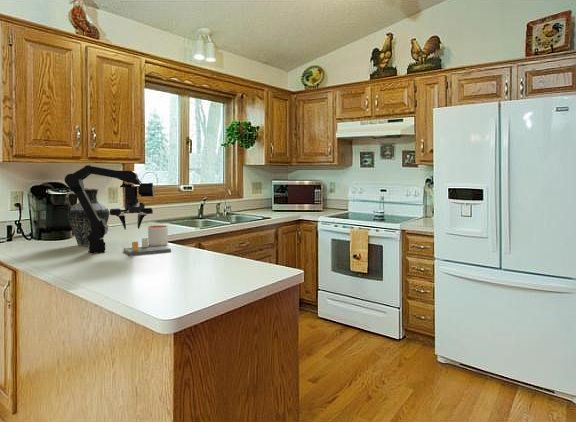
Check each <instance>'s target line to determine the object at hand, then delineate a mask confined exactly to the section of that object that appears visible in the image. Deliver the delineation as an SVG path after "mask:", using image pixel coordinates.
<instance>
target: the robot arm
mask: <svg viewBox="0 0 576 422" xmlns="http://www.w3.org/2000/svg"><path fill="white" fill-rule="evenodd" d="M90 175H96V176H102V177H107V178H108V177H109V178H114V179H118V180H120V181H123V183H121V185H120V186H119V188H124V209H121V208H117V207H116V208H110V209H109V216H116V217H118V218H119V220H120V221H121V224H122V226H123V227H122V228H123V229H124V230H127V226H126V215H124V214H137V229H138V230H140V227H141V225H142V222H143V219H144V218H145V216H147V215H151V214H153V212H154V211H153V207H145V206H146V205H145V202H139V198H138V197H139V196H140V197H141V198H154V196H155V195H154V194H155V189H154V183H153V182H148V183H147V182H145V183H143V182H142V181H141V180H140V179H139V175H138V173H137V172H136V171H134V170H115V169H110V168H104V167H99V166H93V165H90V164H88V165H85V166H84V167H82V168H80V169H78V170H77V171H75V172H73V173H68V174H66V175H65V177H64V182H65V184H66V185H67V187H68V189H70V191H71V192H74V193H75V194H76V195H75V196H76V198H77V200H78V203H79V202H80V204H81V206H82V207H83V209H84V211H85V213H86V215H87V217H88V219H89V221H90V227H91V230H92V233H91V234H90V235H89V236H87V239H88V243H89V246H88V251H87V253H88V254H89V255H93V254H104V253H106V241H104V240H105V239H104V238H105V235H107V234H108V231H109V225H108V223H107V224H106V221H105V219H103V220H101V219H100V218H99V217H98V215H97V213H96V211H95V209H94V207H93V205H92V203H91V202H90V200H89V198H88V196H87V194H86V192H85V190H84V188H85V184H84V180H85V179H86V178H88V177H89V176H90Z"/></svg>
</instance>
